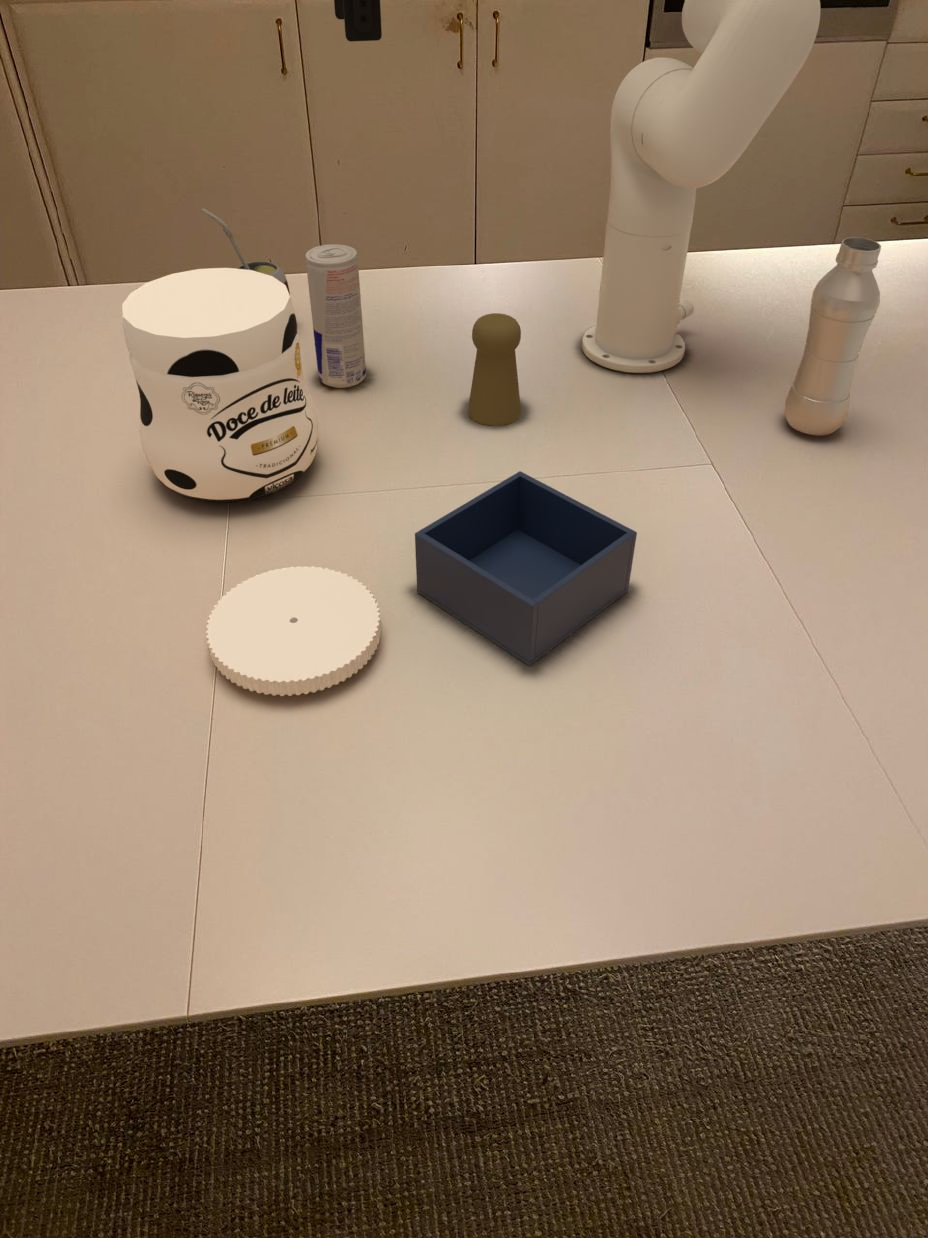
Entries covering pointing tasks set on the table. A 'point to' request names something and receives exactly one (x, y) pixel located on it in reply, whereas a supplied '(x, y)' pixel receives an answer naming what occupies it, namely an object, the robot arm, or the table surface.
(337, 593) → the plastic lid
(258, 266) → the mate gourd
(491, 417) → the olive brown pawn
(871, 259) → the plastic bottle
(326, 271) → the beverage can
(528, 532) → the blue square bin
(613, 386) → the table surface
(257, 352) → the milk container
